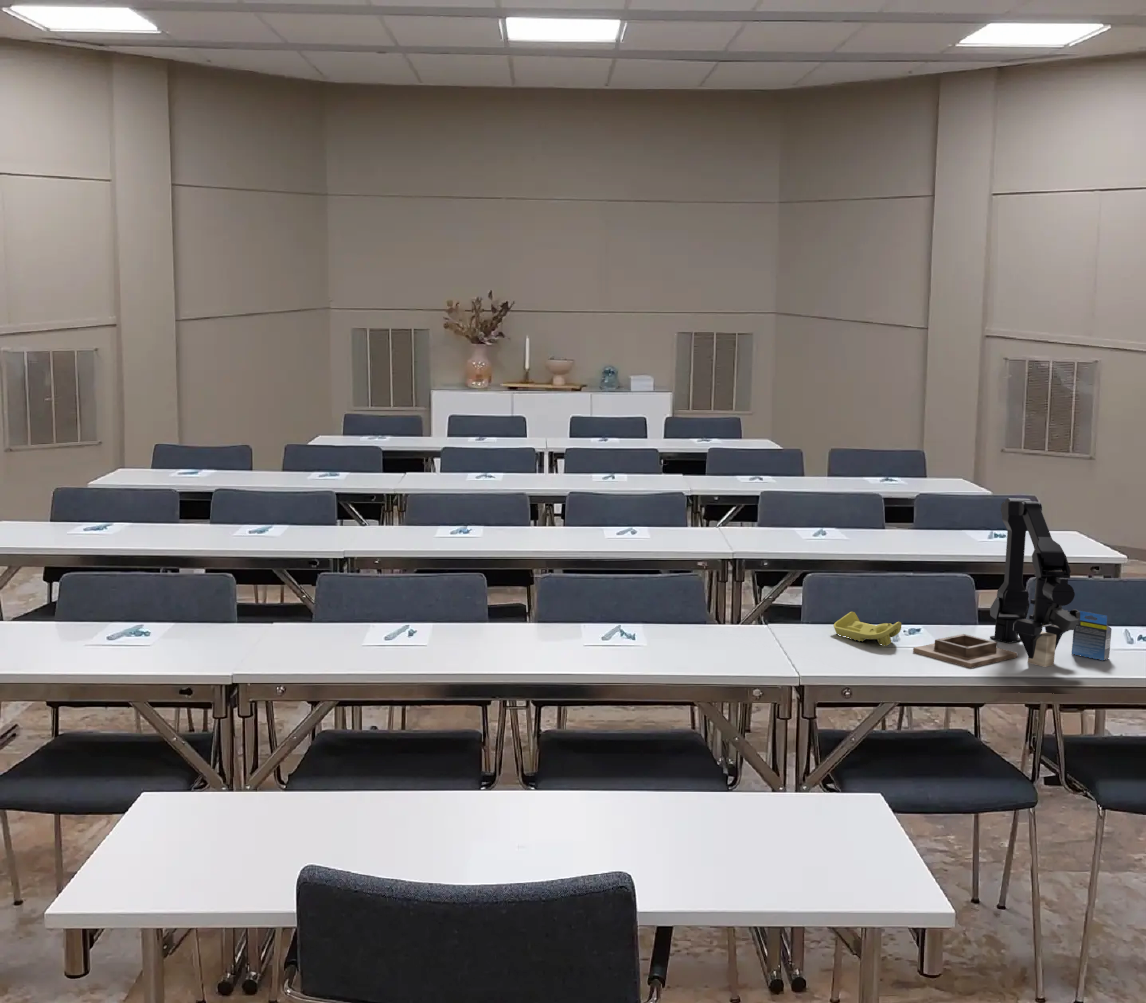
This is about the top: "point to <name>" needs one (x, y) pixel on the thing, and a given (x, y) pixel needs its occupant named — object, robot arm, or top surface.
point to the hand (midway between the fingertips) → (1041, 655)
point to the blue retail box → (1092, 636)
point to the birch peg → (1044, 650)
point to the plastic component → (866, 629)
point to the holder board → (965, 651)
